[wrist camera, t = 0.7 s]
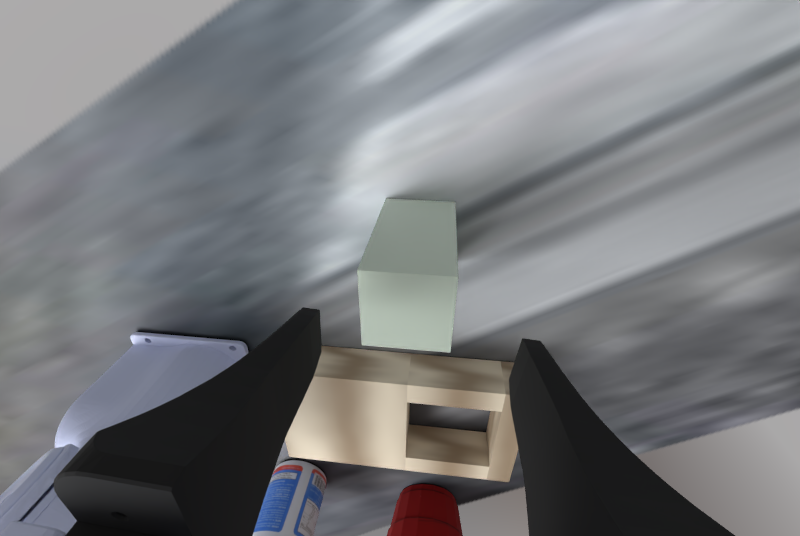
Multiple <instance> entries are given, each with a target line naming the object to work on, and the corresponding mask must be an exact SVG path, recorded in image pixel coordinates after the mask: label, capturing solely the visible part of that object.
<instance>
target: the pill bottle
mask: <svg viewBox="0 0 800 536" xmlns="http://www.w3.org/2000/svg"><path fill="white" fill-rule="evenodd" d="M325 488H326V476H325V474H324V473H323V472H322V470H320V469H319V468H318V467H316V466H315V465H313V464H311V463H308V462H305V461H300V460H289V461H285V462H282V463H280V464H279V465H278V466H277V467H276V469H275V471H274V473H273V476H272V478H271V481H270V483H269V486H268V489H267V492H266V495H265V498H264V501H263V504H262V507H261V510H260V513H259V516H258V520H257V523H256V526H255V529H254V532H253V536H313V533H314V530H315V526H316V522H317V518H318V514H319V510H320V506H321V503H322V499H323V495H324V491H325Z"/></svg>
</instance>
